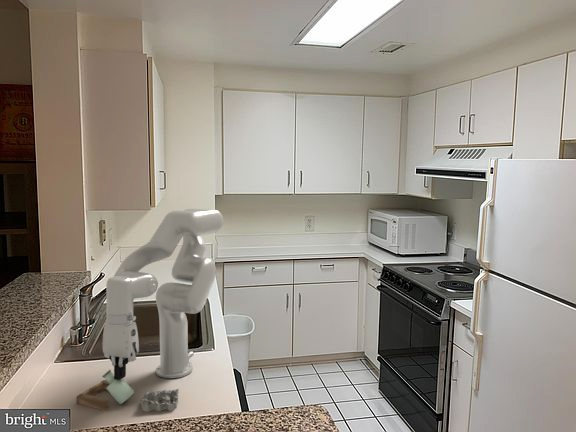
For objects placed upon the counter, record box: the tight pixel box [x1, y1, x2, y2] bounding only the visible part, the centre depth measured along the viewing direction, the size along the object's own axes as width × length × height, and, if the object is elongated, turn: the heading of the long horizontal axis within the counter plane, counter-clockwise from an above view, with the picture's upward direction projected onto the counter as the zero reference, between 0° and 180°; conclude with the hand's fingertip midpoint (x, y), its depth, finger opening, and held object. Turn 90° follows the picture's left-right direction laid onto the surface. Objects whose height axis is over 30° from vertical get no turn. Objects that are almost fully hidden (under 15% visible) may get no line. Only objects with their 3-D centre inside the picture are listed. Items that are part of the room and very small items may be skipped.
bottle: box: [101, 369, 135, 405], centre depth 137 cm, size 5×5×10 cm
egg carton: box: [140, 388, 179, 413], centre depth 136 cm, size 11×8×4 cm
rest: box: [76, 379, 132, 411], centre depth 140 cm, size 12×11×2 cm
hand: (119, 378), depth 135 cm, fingers closed
